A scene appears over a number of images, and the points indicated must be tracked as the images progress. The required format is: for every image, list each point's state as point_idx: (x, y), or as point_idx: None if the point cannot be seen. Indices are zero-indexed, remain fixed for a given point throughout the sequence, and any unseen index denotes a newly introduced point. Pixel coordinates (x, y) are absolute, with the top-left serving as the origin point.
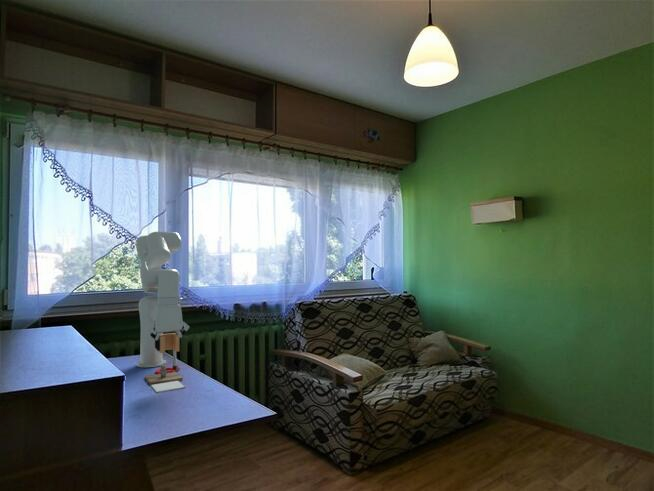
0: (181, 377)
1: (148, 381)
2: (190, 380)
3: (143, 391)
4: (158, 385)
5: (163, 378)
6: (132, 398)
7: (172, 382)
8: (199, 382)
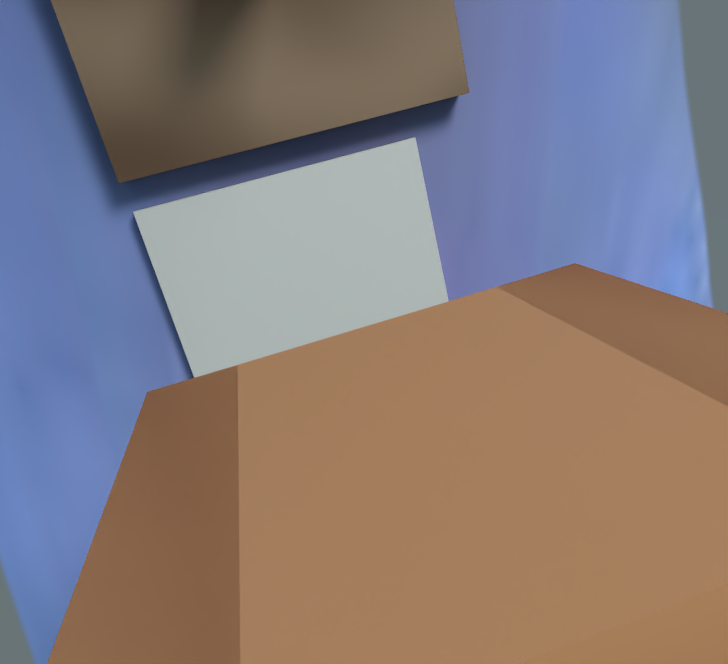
0: (459, 75)
1: (70, 45)
2: (532, 136)
3: (88, 383)
4: (219, 260)
5: (253, 29)
6: (30, 562)
7: (358, 192)
8: (598, 247)
